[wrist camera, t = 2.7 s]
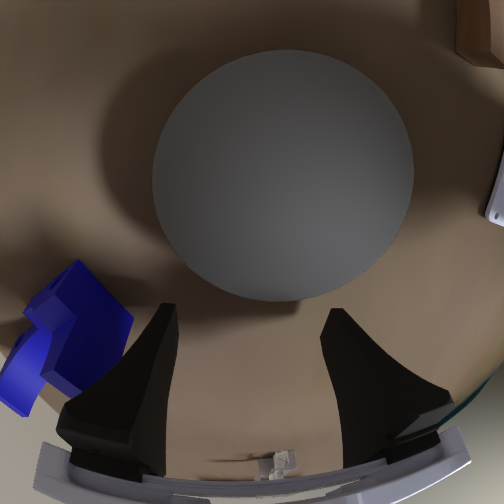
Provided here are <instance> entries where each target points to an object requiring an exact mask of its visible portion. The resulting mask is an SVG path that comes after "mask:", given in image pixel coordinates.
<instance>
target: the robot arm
mask: <svg viewBox="0 0 504 504" xmlns="http://www.w3.org/2000/svg"><path fill="white" fill-rule="evenodd" d="M485 217H486V219H487V220H489V221H490V222H493V223H495V224H498V225H500V226H503V227H504V152H503V156H502V160H501V164H500V168H499V172H498V175H497V179H496V182H495V185H494V188H493V191H492V194H491V197H490V200H489V203H488V206H487V209H486V212H485ZM178 338H179V331H178V322H177V311H176V304H172V303H162V304H160V306H159V308H158V310H157V311H156V313H155V314H154V316H153V318H152V319H151V321H150V322H149V324H148V325H147V326H146V328H145V329H144V331H143V332H142V333H141V335H140V336H139V338H138V339H137V340H136V341H135V343H134V344H133V345H132V346H131V348H130V349H129V350H128V351H127V352H126V353H125V355H124V356H123V357H122V358H121V359H120V360H119V361H118V362H117V363H116V364H115V365H114V366H113V367H112V368H111V369H110V370H109V371H108V372H107V373H106V374H105V375H103V376H102V377H101V378H100V379H99V380H97V381H96V382H95V383H94V384H92V385H91V386H90V387H88V388H87V389H86V390H84V391H83V392H82V393H80V394H78V395H77V396H75V397H74V398H72V399H71V400H69V401H67V402H66V403H65V404H64V406H63V408H62V410H61V413H60V416H59V419H58V423H57V426H56V432H57V434H58V435H59V436H60V437H61V438H62V439H63V440H65V441H66V442H67V443H68V444H69V445H71V446H72V452H71V453H70V452H69V451H67V450H64V449H62V448H59V447H56V446H54V445H51V444H49V443H46V442H43V443H42V446H41V450H40V454H39V459H38V463H37V468H36V473H35V478H34V484H33V488H34V489H35V490H37V491H38V492H40V493H43V494H45V495H47V496H49V497H51V498H54V499H56V500H58V501H60V502H63V503H65V504H211V503H210V500H208V499H202V498H194V497H187V496H178V495H188V496H201V497H257V496H271V495H281V494H290V493H297V492H304V491H310V490H316V489H321V488H326V487H331V486H335V485H340V484H344V483H348V482H352V481H356V480H359V479H360V480H359V481H356V482H353V483H350V484H346V485H343V486H341V487H340V488H338V489H336V490H334V491H332V492H329V493H326V496H323V497H319V498H312V499H306V500H300V501H294V502H285V503H277V504H394V503H397V502H399V501H401V500H403V499H405V498H408V497H410V496H412V495H414V494H416V493H418V492H420V491H422V490H424V489H426V488H428V487H430V486H431V485H433V484H435V483H437V482H439V481H440V480H442V479H444V478H446V477H447V476H449V475H451V474H452V473H454V472H456V471H457V470H459V469H460V468H462V467H463V466H465V465H467V464H468V463H470V462H471V457H470V455H469V452H468V450H467V447H466V444H465V442H464V440H463V437H462V435H461V432H460V430H459V428H458V426H457V425H456V426H454V427H452V428H450V429H448V430H445V431H444V432H442V433H440V434H438V433H437V431H436V430H438V429H439V425H438V422H439V421H440V420H441V419H443V418H444V417H445V416H446V415H447V414H448V413H449V412H450V411H451V410H452V409H453V408H454V405H455V404H454V401H453V399H452V397H451V395H450V393H449V391H448V390H445V389H443V388H441V387H438V386H436V385H434V384H432V383H430V382H428V381H426V380H424V379H422V378H421V377H419V376H417V375H416V374H414V373H413V372H411V371H410V370H408V369H407V368H405V367H404V366H402V365H401V364H400V363H398V362H397V361H396V360H395V359H393V358H392V357H391V356H390V355H388V354H387V353H386V352H385V351H384V350H383V349H382V348H381V347H380V346H379V345H377V344H376V343H375V342H374V341H373V340H372V339H371V338H370V337H369V336H368V335H367V334H366V332H365V331H364V330H363V329H362V328H361V327H360V326H359V325H358V324H357V323H356V322H355V321H354V320H353V319H352V318H351V316H350V315H349V314H348V313H347V312H346V311H345V310H344V309H343V308H331V310H330V313H329V315H328V318H327V321H326V323H325V326H324V328H323V331H322V333H321V336H320V340H321V346H322V352H323V356H324V360H325V363H326V366H327V369H328V372H329V375H330V379H331V382H332V385H333V388H334V391H335V395H336V399H337V404H338V410H339V416H340V423H341V431H342V443H343V469H341V470H336V471H332V472H326V473H321V474H315V475H309V476H302V477H295V478H287V479H277V480H264V481H241V482H220V481H197V480H184V479H174V478H166V477H164V476H165V475H166V421H167V405H168V397H169V391H170V385H171V380H172V376H173V371H174V366H175V361H176V356H177V348H178ZM173 494H177V495H173Z"/></svg>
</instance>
